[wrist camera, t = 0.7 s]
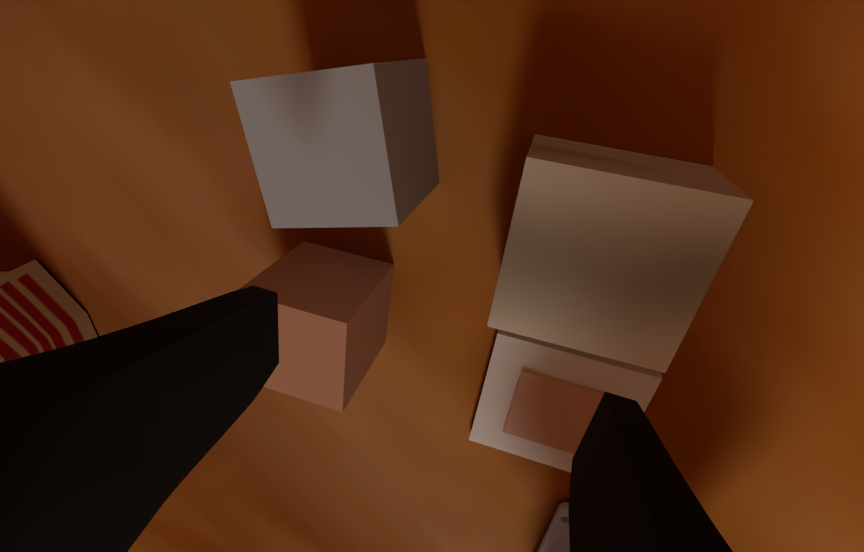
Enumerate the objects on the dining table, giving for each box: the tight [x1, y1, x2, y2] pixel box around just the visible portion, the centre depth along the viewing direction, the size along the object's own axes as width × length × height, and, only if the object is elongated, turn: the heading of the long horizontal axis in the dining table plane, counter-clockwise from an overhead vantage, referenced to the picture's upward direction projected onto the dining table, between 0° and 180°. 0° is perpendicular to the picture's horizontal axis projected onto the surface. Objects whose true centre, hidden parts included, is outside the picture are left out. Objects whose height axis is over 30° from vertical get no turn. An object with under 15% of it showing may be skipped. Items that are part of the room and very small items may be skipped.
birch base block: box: [487, 134, 754, 373], centre depth 15 cm, size 6×6×4 cm
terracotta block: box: [240, 241, 394, 412], centre depth 19 cm, size 4×4×5 cm
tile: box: [469, 329, 662, 473], centre depth 21 cm, size 7×7×1 cm
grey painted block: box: [230, 58, 439, 228], centre depth 15 cm, size 4×4×5 cm
